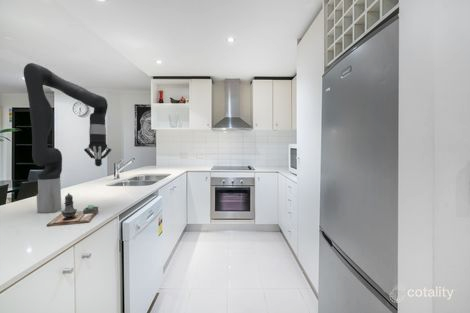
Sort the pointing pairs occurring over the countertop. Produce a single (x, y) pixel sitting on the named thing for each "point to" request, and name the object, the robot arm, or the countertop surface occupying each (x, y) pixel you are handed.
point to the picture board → (80, 216)
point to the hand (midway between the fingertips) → (98, 166)
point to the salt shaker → (69, 208)
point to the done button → (90, 206)
